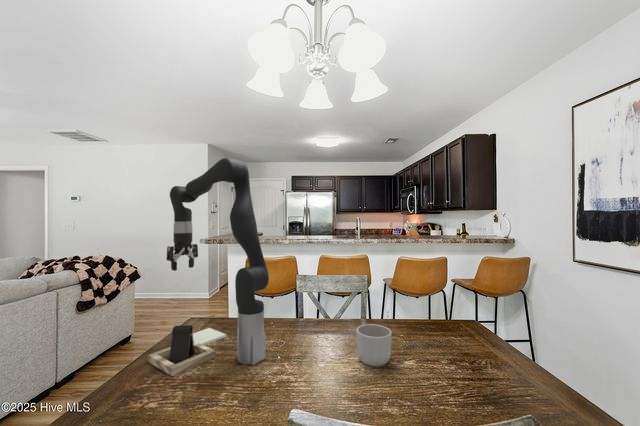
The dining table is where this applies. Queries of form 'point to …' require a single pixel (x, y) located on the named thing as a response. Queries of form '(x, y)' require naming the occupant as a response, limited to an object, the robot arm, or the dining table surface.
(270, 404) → the dining table surface
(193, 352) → the phone stand
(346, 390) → the dining table surface
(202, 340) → the sage mat
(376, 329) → the planter
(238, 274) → the robot arm
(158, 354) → the pocket holder
